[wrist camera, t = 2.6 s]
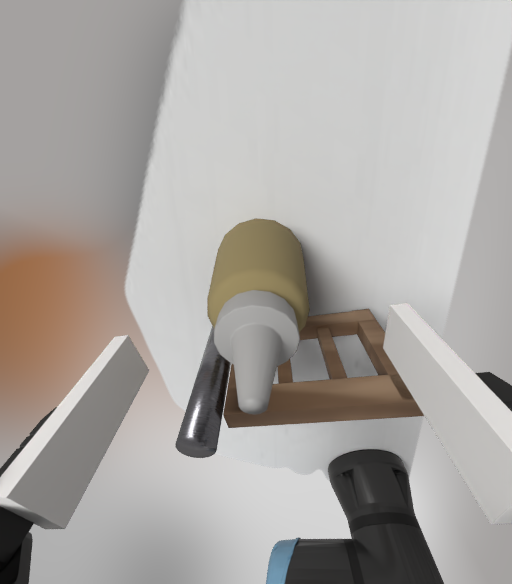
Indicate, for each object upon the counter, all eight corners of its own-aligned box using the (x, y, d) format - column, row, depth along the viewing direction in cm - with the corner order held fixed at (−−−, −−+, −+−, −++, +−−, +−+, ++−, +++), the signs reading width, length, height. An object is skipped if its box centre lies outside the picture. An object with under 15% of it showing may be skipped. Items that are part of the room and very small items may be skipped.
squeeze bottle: (255, 191, 22) (232, 276, 6) (314, 244, 24) (404, 401, 9) (208, 253, 25) (116, 409, 9) (264, 294, 27) (264, 472, 12)
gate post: (239, 329, 30) (220, 456, 17) (217, 331, 31) (183, 458, 18) (234, 310, 29) (210, 435, 16) (211, 313, 29) (169, 437, 16)
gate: (367, 321, 26) (426, 415, 17) (241, 335, 28) (228, 427, 18) (368, 308, 26) (431, 400, 16) (238, 323, 27) (223, 414, 18)
